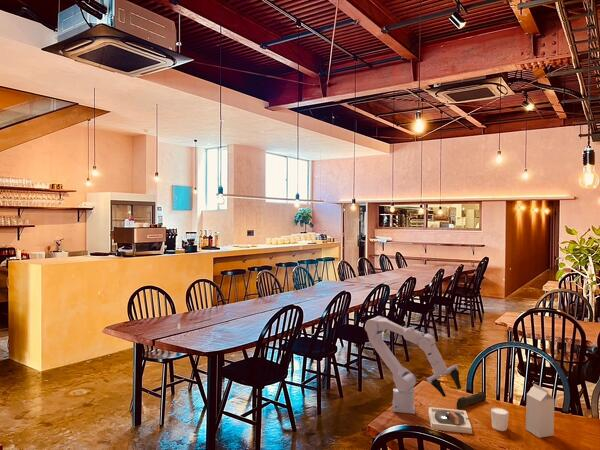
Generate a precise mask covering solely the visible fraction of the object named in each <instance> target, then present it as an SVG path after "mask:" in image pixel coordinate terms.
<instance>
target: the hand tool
mask: <svg viewBox="0 0 600 450" xmlns="http://www.w3.org/2000/svg"><path fill="white" fill-rule="evenodd" d="M486 400H487V396H486V394H485V393H484V392H483V391H479V392H477V393H474V394H471V395H469V396H466V397H465V396H461V397H459V398H457V401H456V406H455V407H456V410H460V408H461V409H465V407H466V408H467V407H468V406H470V405H473V404H476V403H480V402H483V401H484V402H485V401H486Z"/></svg>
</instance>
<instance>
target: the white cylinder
mask: <svg viewBox="0 0 600 450" xmlns="http://www.w3.org/2000/svg"><path fill="white" fill-rule="evenodd" d="M509 412H510V411H508V410H507V409H504V408H501V407H492V408H491V409H490V413H491V414H490V415H491V417H490V418H491V426H492V428H493V429H494V430H497V431H499V432H500V431H501V432H504V431H506V430H508V422H509V416H510V415H509V414H510V413H509Z"/></svg>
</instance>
